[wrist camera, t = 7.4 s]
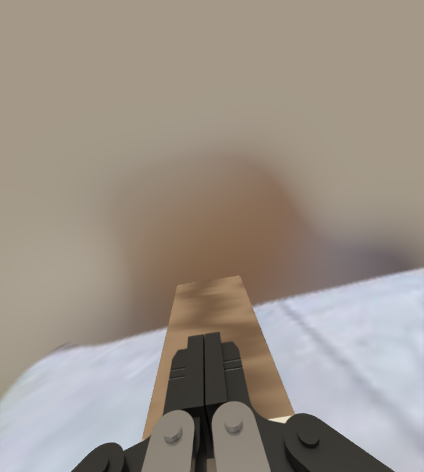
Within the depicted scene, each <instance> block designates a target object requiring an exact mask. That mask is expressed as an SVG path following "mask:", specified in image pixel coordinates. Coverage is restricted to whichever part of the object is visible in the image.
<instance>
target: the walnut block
mask: <svg viewBox="0 0 424 472" xmlns="http://www.w3.org/2000/svg"><path fill="white" fill-rule="evenodd" d="M219 331H220V336H221V342H222V343H224V342H231V341H233V342H234V344H235V345H236V346H237V347H238V348H239V352H240V357H241V361H242V366H243V371H244V375H245V380H246V384H247V389H248V394H249V398H250V402H251V405H252V407H253V408H254V410H255V411H256V412H257V413H258V414H259V415H260V416H262V417H264V418H265V419H268V420H271V421H275V422H280V423H286V421H287V420H288V419H289V418H290V417H291V416H293V415H295V414H294V411H293V408H292V406H291V403H290V401H289V398H288V396H287V393H286V391H285V388H284V386H283V383H282V381H281V378H280V376H279V373H278V371H277V368H276V366H275V363H274V361H273V358H272V356H271V353H270V351H269V348H268V346H267V343H266V341H265V338H264V336H263V333H262V330H261V328H260V325H259V323H258V320H257V318H256V315H255V313H254V310H253V308H252V305H251V303H250V300H249V298H248V295H247V293H246V290H245V288H244V285H243V283H242V280H241V278H240V276H234V277H227V278H221V279H215V280H208V281H202V282H196V283H189V284H183V285H177V290H176V294H175V299H174V303H173V307H172V312H171V316H170V320H169V324H168V329H167V333H166V337H165V342H164V346H163V350H162V355H161V359H160V363H159V368H158V372H157V376H156V381H155V385H154V389H153V394H152V398H151V402H150V407H149V411H148V415H147V420H146V424H145V429H144V433H143V437H142V441H143V440H145V439H146V438H148V437H149V436H150V435H151V433H152V430H153V428H154V426H155V424H156V423H157V422H158V420H159V419H160V418H161V417H162V415H163V410H164V404H165V398H166V392H167V386H168V380H169V374H170V368H171V363H172V358H173V357H174V355H175V354H176V352H177V351H178V350H180V349H187V343H188V336H194V335H200V334H204V337H205V334H206V333H212V332H219ZM213 446H214V445H213ZM207 472H217V468H216V459H215V450H214V458H212V459H207Z"/></svg>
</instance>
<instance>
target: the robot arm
mask: <svg viewBox="0 0 424 472" xmlns="http://www.w3.org/2000/svg"><path fill="white" fill-rule="evenodd" d="M213 445H214V446H213ZM214 450H215V459H216V468H217V472H394V471H393V470H391V469H390V468H389V467H387V466H386V465H384V464H383V463H381V462H380V461H379V460H377V459H376V458H374V457H373V456H371V455H370V454H369V453H367V452H366V451H364V450H363V449H361V448H360V447H359V446H357V445H356V444H354V443H353V442H351V441H350V440H349V439H347V438H346V437H344V436H343V435H341V434H340V433H339V432H337V431H336V430H334V429H333V428H331V427H330V426H329V425H327V424H326V423H324V422H323V421H321V420H320V419H318V418H317V417H315V416H313V415H310V414H305V413H299V414H295V415H293V416H291V417H290V418H289V419H288V420H287V421H286V423H280V422H275V421H271V420H268V419H265V418H264V417H262V416H260V415H259V414H258V413H257V412H256V411H255V410H254V408H253V407H252V405H251V402H250V398H249V394H248V389H247V384H246V380H245V375H244V371H243V366H242V361H241V357H240V352H239V348H238V347H237V346H236V345H235V344H234V342H233V341H231V342H224V343H222V342H221V336H220V331H219V332H212V333H206V334H205V337H204V334H200V335H194V336H188V343H187V349H180V350H178V351H177V352H176V354H175V355H174V357H173V358H172V363H171V368H170V374H169V380H168V386H167V392H166V398H165V404H164V410H163V415H162V417H161V418H160V419H159V420H158V422H157V423H156V424H155V426H154V428H153V430H152V433H151V435H150V436H149V437H148V438H146V439H145V440H143V441H142V442H140V443H138V444H136V445H134V446H132V447H130V448H128V449H126V450H125V451H123V449H122V447H121V446H120V445H119V444H117V443H112V442H111V443H106V444H103V445H100V446H99V447H97V448H95V449H94V450H93V451H91V452H90V453H89V454H88V455H87V456H86V457H85V458H84V459H83V460H82V461H81V462H80V463H79V464H78V465H77V466H76V467H75V468H74V469H73V470H72V471H71V472H207V459H212V458H214Z"/></svg>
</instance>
